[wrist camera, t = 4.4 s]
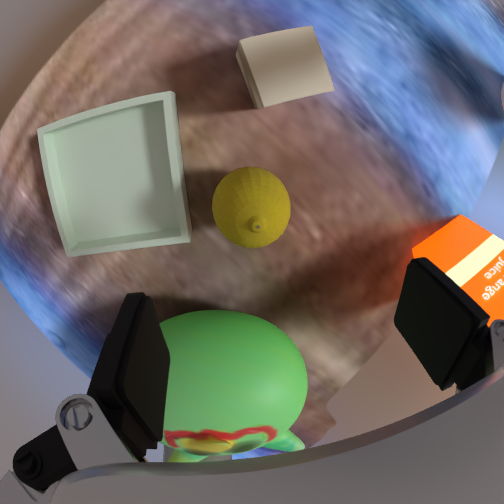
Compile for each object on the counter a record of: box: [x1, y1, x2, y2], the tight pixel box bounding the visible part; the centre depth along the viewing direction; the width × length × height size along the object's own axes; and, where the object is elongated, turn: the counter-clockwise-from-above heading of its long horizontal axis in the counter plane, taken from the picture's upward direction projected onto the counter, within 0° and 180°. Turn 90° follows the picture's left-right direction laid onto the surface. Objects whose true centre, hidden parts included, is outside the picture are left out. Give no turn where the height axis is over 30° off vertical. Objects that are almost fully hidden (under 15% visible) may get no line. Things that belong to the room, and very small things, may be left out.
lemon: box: [212, 167, 290, 248], centre depth 20 cm, size 6×6×8 cm
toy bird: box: [158, 310, 308, 462], centre depth 25 cm, size 18×17×15 cm
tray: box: [37, 91, 192, 257], centre depth 20 cm, size 12×12×2 cm
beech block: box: [235, 26, 334, 109], centre depth 17 cm, size 5×5×5 cm
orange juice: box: [412, 214, 504, 327], centre depth 21 cm, size 8×9×20 cm
